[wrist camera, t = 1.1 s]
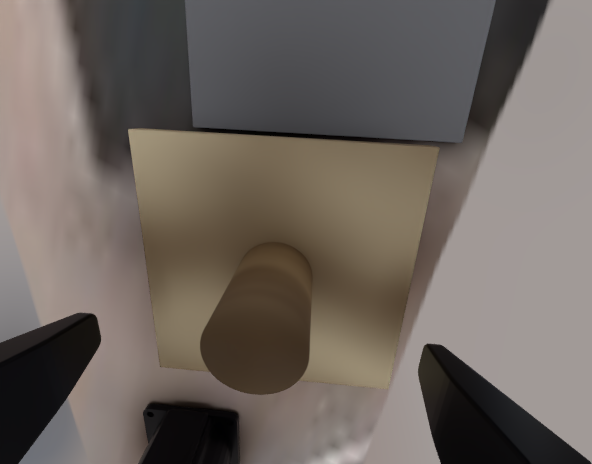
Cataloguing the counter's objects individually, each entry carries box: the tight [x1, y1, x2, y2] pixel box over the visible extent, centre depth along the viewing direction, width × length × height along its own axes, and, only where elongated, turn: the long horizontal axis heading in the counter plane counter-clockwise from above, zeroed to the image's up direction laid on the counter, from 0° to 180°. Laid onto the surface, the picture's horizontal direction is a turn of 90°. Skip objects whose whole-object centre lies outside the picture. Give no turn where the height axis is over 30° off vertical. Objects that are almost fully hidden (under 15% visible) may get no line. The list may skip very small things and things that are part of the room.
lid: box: [128, 128, 439, 395], centre depth 10 cm, size 10×10×5 cm
